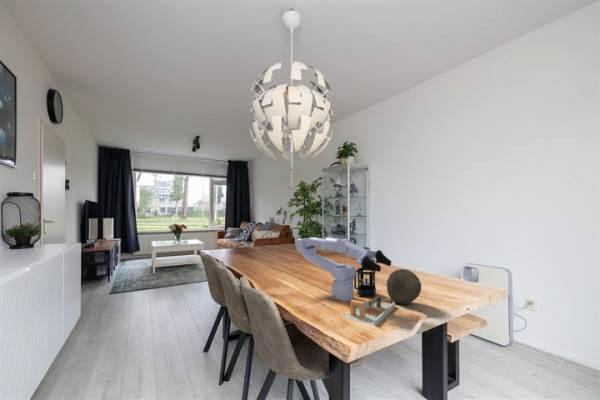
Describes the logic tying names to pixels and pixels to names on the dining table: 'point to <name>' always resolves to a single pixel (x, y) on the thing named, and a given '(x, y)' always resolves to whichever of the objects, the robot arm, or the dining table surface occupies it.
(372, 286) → the french press
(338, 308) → the dining table surface
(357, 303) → the peach u-shaped bracket
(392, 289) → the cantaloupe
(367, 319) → the grey base plate
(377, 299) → the hook arm
